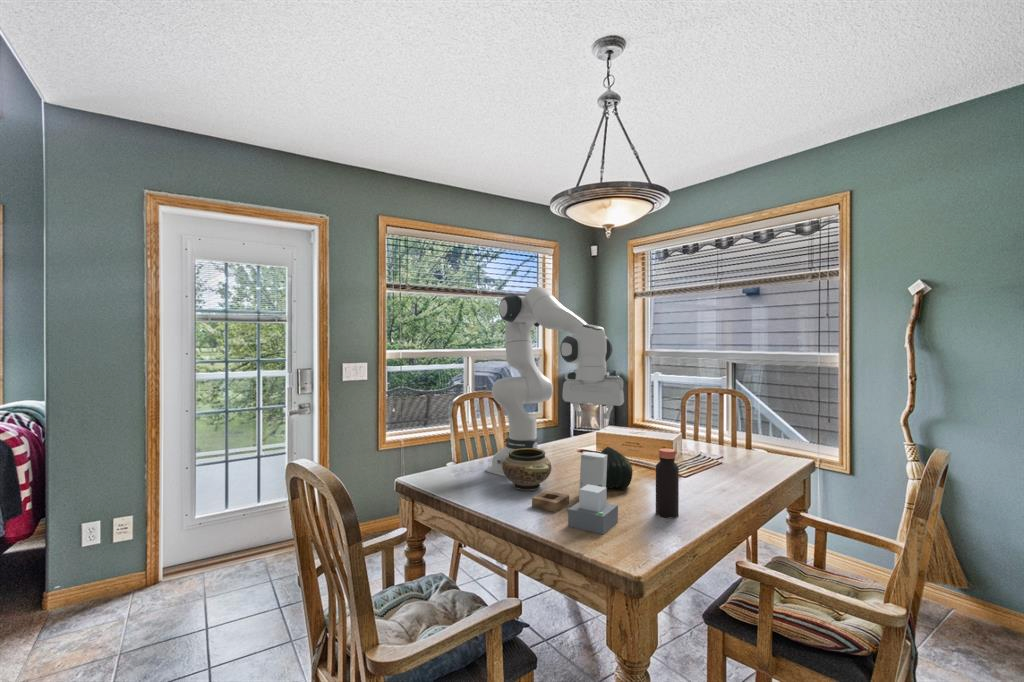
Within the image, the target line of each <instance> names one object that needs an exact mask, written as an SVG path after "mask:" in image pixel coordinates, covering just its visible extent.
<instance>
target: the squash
mask: <svg viewBox="0 0 1024 682" xmlns="http://www.w3.org/2000/svg"><path fill="white" fill-rule="evenodd" d="M599 453H600V454H607V476H606V488H608V489H613V488H617V489H618V488H619V490H625V489H627V488H628V487H629V486H630V484H631V481H632V479H633V473H634V472H633V471H634V469H633V467H632V464H631V462H630V461H629V459H628V458H627V457H626V456H625V455H624V454H622V453H620V452H619V451H617V450H615V449H614V448H612V447H610V446H606V447H605V448H603V449H602V450H601V451H600V452H599Z"/></svg>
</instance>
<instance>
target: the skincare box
mask: <svg viewBox="0 0 1024 682" xmlns="http://www.w3.org/2000/svg"><path fill="white" fill-rule="evenodd" d="M600 453H601V452H594V451H593V452H592V451H584V452H583V453H581V454H580V469H579V470H580V471H579V473H580V474H579V475H580V476H579V489H581V488H582V487H584V486H586V485H587V484H589V485H595V486H601V487H606V476H607V454H600Z"/></svg>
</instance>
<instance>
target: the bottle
mask: <svg viewBox="0 0 1024 682" xmlns="http://www.w3.org/2000/svg"><path fill="white" fill-rule="evenodd" d="M676 453H677V452H676V450H675V449H673V448H663V447H662V448H660V449H659V450H658V458H659V461H658V462H657V464H656V465H655V514H656V515H657V516H659V515H660V516H659V517H662V516H663V517H662V518H667V517H673V518H677V517H678V516H679V511H680V510H679V507H680V506H679V500H680V498H679V497H680V496H679V495H680V493H679V490H680V489H679V488H680V487H679V486H680V485H679V482H680V481H679V480H680V479H679V477H680V475H679V473H680V472H679V469H680V468H679V465H677V463H676V461H675V460H676V457H677V456H676ZM676 516H677V517H676Z"/></svg>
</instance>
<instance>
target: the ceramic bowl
mask: <svg viewBox="0 0 1024 682" xmlns="http://www.w3.org/2000/svg"><path fill="white" fill-rule="evenodd" d="M502 469H503V472H504V474H505V476H506V477H505V476H504V477H505V478H507V480H508V481H510V482H511V483H513V484H514V485H513V486H514V488H515V489H518V490H519V489H520V490H521V491H535V490H538V489H539V488H540V486H541V485H540V484H541V483H542V484H543V482H545V481H546V480H547V479H548V478H549V477H550V476H551V475H550V474H551V472H552V462H551V460H550V459H549V458H548V457H547V456H546V452H545V450H543V449H540V448H538V449H535V448H521V449H514V450H511V451H510V452H509V455H508V456H506V459H505V460H504V462H503V465H502Z"/></svg>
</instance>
